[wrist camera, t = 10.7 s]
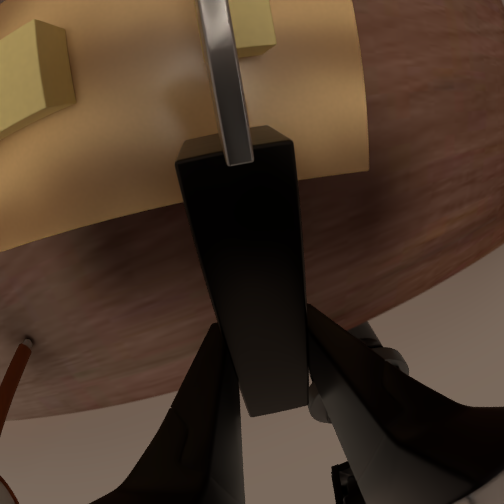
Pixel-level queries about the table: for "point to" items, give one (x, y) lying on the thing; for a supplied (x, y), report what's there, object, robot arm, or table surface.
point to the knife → (248, 231)
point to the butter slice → (250, 27)
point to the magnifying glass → (3, 499)
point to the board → (170, 107)
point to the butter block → (33, 75)
